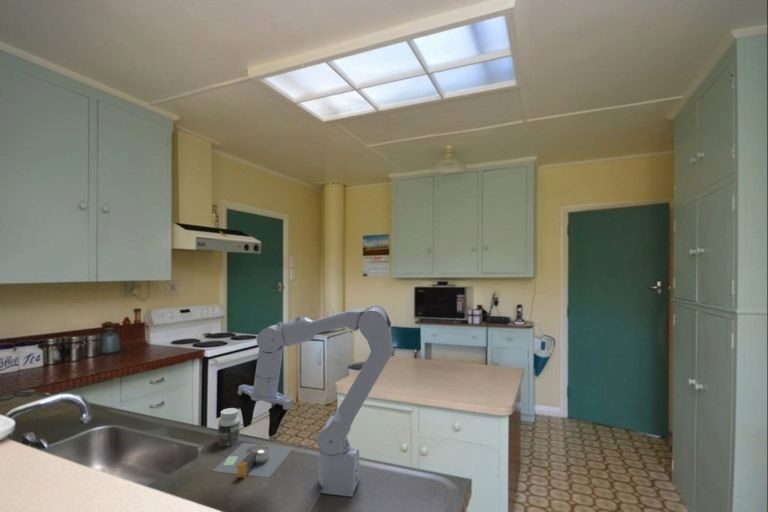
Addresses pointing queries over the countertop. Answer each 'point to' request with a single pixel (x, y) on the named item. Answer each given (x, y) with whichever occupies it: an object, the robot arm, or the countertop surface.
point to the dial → (253, 459)
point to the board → (262, 470)
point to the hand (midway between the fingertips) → (259, 430)
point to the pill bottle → (228, 427)
